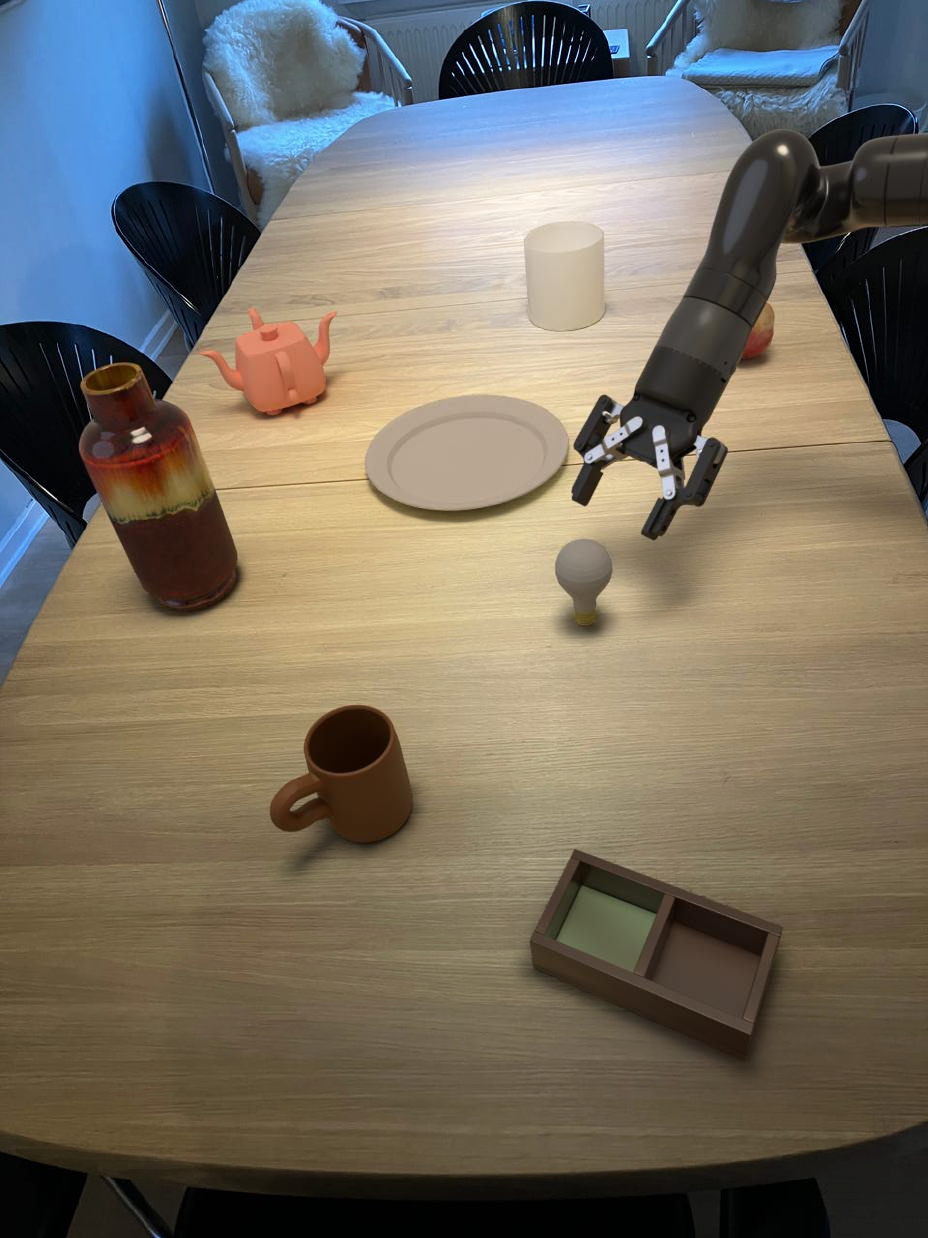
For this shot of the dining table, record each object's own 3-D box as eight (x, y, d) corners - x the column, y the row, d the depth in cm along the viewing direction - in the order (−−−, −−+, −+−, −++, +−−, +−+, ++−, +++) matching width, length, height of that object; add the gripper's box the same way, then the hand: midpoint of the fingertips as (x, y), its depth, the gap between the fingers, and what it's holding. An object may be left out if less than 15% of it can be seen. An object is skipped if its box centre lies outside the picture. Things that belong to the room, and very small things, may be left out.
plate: (433, 394, 129) (431, 381, 128) (602, 427, 118) (602, 413, 117) (327, 495, 114) (324, 481, 113) (509, 543, 103) (508, 529, 102)
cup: (513, 318, 144) (507, 241, 136) (564, 290, 149) (561, 214, 141) (568, 338, 137) (565, 258, 129) (620, 309, 142) (620, 230, 134)
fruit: (762, 373, 124) (769, 317, 118) (706, 365, 127) (710, 309, 121) (779, 347, 128) (786, 291, 123) (725, 339, 131) (729, 285, 126)
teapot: (219, 419, 131) (195, 348, 124) (268, 370, 141) (248, 301, 133) (308, 429, 126) (289, 355, 119) (353, 377, 136) (337, 306, 128)
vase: (264, 579, 104) (191, 368, 86) (181, 633, 99) (86, 420, 81) (210, 542, 110) (132, 338, 92) (130, 591, 105) (30, 385, 87)
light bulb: (617, 637, 91) (617, 559, 84) (562, 645, 91) (558, 567, 84) (607, 600, 95) (606, 523, 88) (554, 608, 95) (549, 531, 88)
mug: (322, 899, 73) (293, 832, 67) (268, 844, 78) (236, 776, 71) (432, 805, 79) (416, 735, 72) (376, 758, 83) (356, 688, 77)
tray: (576, 877, 72) (574, 848, 69) (776, 955, 66) (783, 926, 63) (532, 968, 67) (529, 940, 64) (744, 1061, 61) (750, 1035, 58)
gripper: (614, 325, 86) (536, 483, 89) (745, 368, 78) (655, 541, 80) (649, 354, 92) (575, 502, 95) (774, 397, 84) (689, 558, 86)
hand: (612, 520), depth 88 cm, fingers open, 8 cm apart
